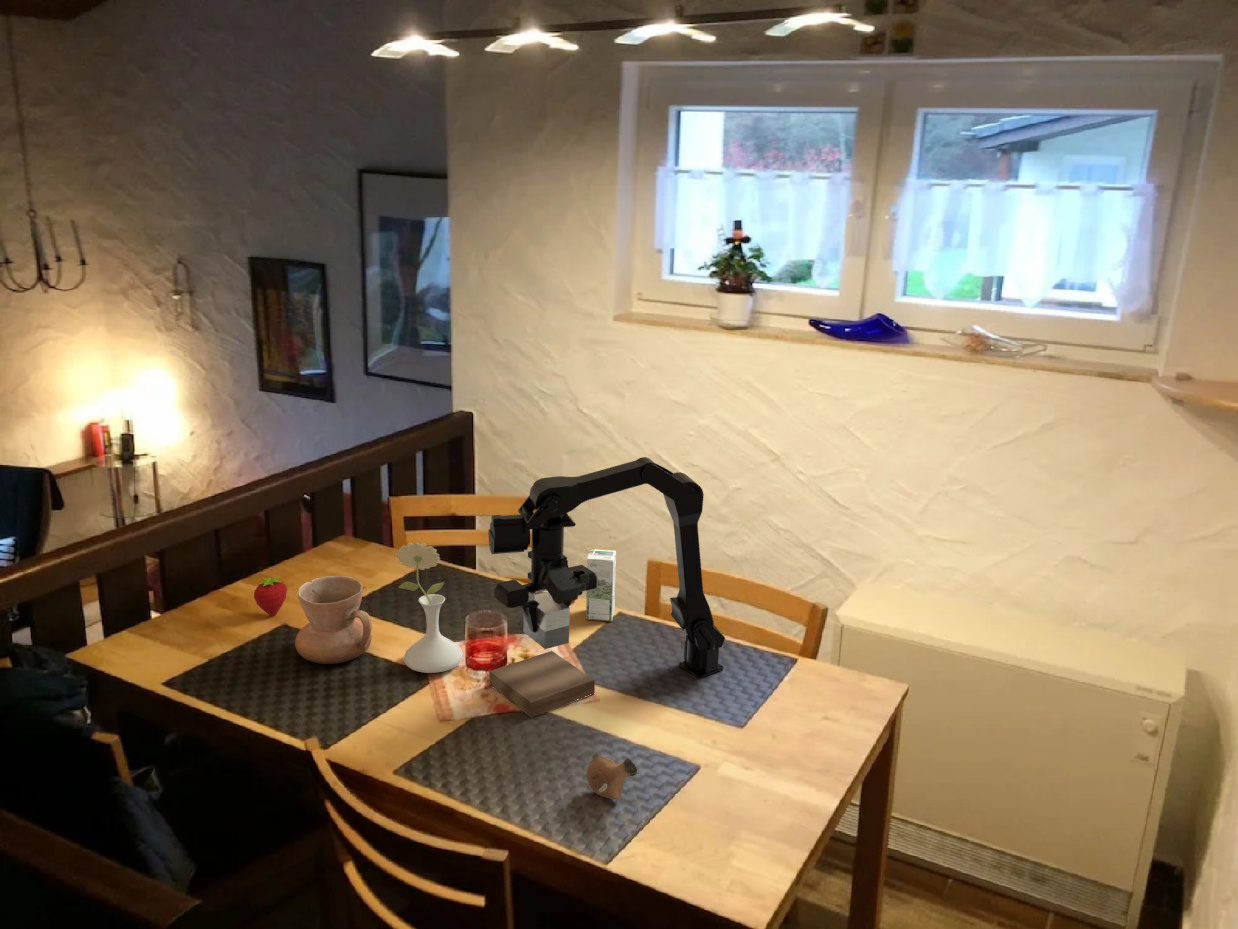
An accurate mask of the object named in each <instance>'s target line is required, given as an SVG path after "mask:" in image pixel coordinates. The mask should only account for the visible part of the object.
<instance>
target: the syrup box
mask: <svg viewBox="0 0 1238 929" xmlns="http://www.w3.org/2000/svg"><path fill="white" fill-rule="evenodd" d="M616 562H617V551H616V550H609V549H595V548H594V549H593V548H592V549H589V551H588V555H587V559H586V568H588V569H589V570H591V571H593V572H594V573H595V574H596V575H597V578H598V587H597V588H595V589H591V590H587V591H586V600H585V601H586V604H585V605H586V606H585V608H586V609H585V611H586V612H585V614H586V615H585V616H586V617H585V619H586V620H587V621H600V622H613V619H614V618H613V616H614V614H615V610H616V609H615V608H616V607H615V601H616V600H615V597H616V596H615V595H616V594H615V592H616V589H615V588H616V570H617V569H616V567H617V566H616V565H617V564H616Z"/></svg>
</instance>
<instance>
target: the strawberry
mask: <svg viewBox="0 0 1238 929" xmlns="http://www.w3.org/2000/svg"><path fill="white" fill-rule="evenodd" d="M281 578H282V576H281V577H279V576H278V577H268V578H266V577H261V579H262V582H260V583H257V587H256V588H255V590H254V594H253V598H254V600H255V603H256V604H257V606H258V607H259V608H260V609H261V610H262V611H264V612H265V613H266V614H268V615H269V616H270V617H275V616H277V614H278V613H279V610H280V609H281V608H282V606H283V604H284V602H285V600H286V597H287V593H288V588H287V585H286V583H285V582H284V581H281V580H279V579H281Z"/></svg>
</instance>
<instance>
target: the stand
mask: <svg viewBox="0 0 1238 929" xmlns="http://www.w3.org/2000/svg"><path fill="white" fill-rule="evenodd" d="M595 681H596V680H595V679H594V678H593V677H591V676H590V675H588V674H587V673H586V672H584V671H582V670H581V669H579V668H578V667H577V666H575V665H573V664H572V663H571V662H569V660H566V659H565V658H563V657H562V656H560V655H559V654H557V653H556V652H554V651H553V650H550V651H547V652H546V651H545V653H544V652H543V653H540V654H537V655H535V656H531V657H527V658H525V659H522V660H518V661H517V662H513V663H510V664H507V665H505V666H501V667H497V668H495V669H491V670H489V686H490V685H491V686H492V687H494V688H495V689H496V690H497V691H496V690H495V689H494V688H493V689H494V690H495V691H496V692H497V693H499V694H500V693H501V694H502V696H503V697H504V698H505V699H506V700H508V702H509V701H511V703H512V704H513V705H514V706H516V707H517V708H518V709H519V710H521V711H522V712H523V713H524V714H525V715H527V716H529V718H534V717H537V716H539V715H543V714H544V713H545V714H546V713H547V712H551V711H553V710H556V709H558V708H561V707H564V706H566V705H569V704H571V702H572V703H574V702H573V701H575V700H577V699H580V700H582V699H581V698H583V699H585V698H584V697H585V696H588V695H590V694H594V693H595V689H596V688H595V685H596V682H595ZM491 686H490V687H491ZM492 687H491V688H492ZM501 694H500V695H501ZM594 695H595V694H594ZM588 697H589V696H588ZM575 702H576V701H575Z"/></svg>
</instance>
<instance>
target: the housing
mask: <svg viewBox="0 0 1238 929" xmlns="http://www.w3.org/2000/svg"><path fill="white" fill-rule="evenodd" d="M535 601H537V602H538V603H539V605H538V607H537V608H536V632H535V633H533V632H532V631H531V629H530V627H529V625H528V622H527V620H526V618H525V615H524V614H523V633H524V634H525V635H526V636H528V637H529V638H531V639H532V640H533V641H534V642H535V643H537V644H538V645H539V646H540V647H541V648H543V649H544V650H547V649H552V648H555V647H559V646H562V645H566V644H567V645H568V644H569V643H570V642H569V641H570V619H571V618H570V612H571V611H570V610H571V609H570V608H571V607H570V606H569V607H568V606H567V605H565V604H564V603H562V604H558V603H555V602H554V601H553V598H552V597H551V595H550V594H549V592H548V591H544V592H539V593H535Z"/></svg>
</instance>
